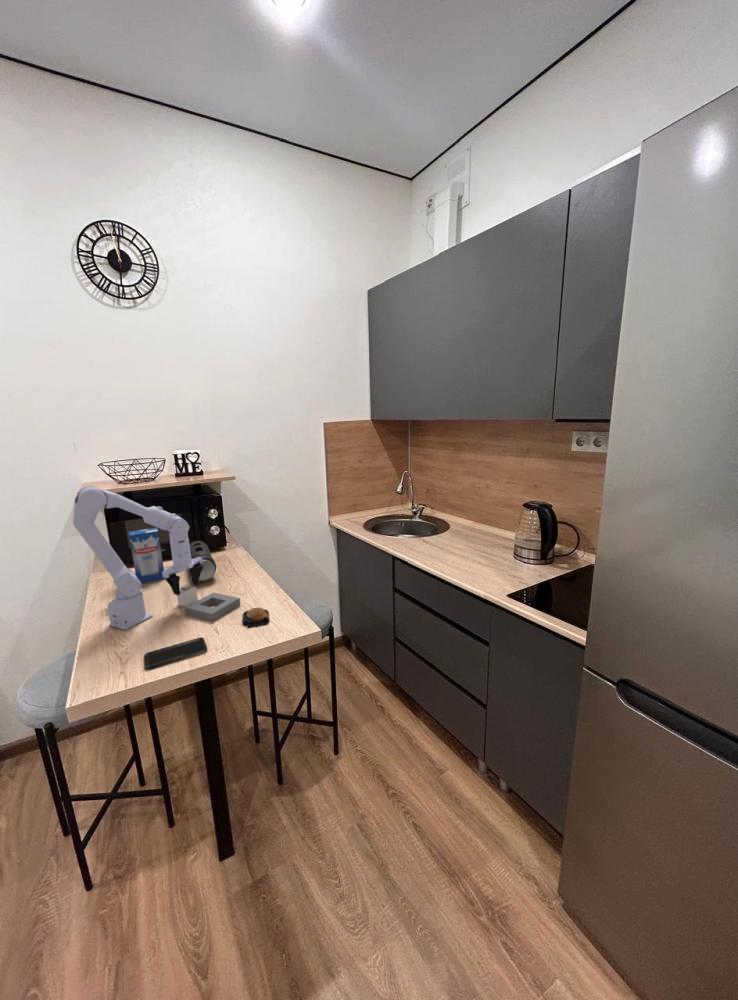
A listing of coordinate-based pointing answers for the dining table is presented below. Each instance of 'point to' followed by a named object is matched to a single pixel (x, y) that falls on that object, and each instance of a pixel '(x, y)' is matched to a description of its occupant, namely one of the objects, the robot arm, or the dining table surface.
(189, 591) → the plug
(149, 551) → the milk carton
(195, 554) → the muzzle brake
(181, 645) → the phone
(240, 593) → the dining table surface
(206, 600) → the socket block
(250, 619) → the bread roll
